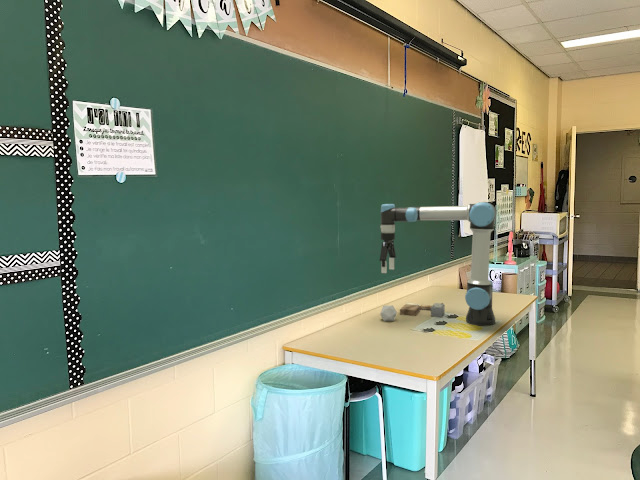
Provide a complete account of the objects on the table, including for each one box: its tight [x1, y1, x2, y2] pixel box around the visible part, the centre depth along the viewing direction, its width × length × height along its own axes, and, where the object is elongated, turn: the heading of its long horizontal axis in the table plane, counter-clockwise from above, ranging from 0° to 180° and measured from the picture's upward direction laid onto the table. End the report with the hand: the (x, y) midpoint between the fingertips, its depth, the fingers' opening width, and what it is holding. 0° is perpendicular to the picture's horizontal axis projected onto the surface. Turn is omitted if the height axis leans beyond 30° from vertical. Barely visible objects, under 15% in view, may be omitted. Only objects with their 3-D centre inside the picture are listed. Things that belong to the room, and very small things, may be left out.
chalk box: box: [405, 302, 420, 306], centre depth 302 cm, size 8×4×3 cm, turn 66°
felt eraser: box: [419, 304, 433, 312], centre depth 299 cm, size 12×4×3 cm, turn 66°
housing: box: [430, 302, 446, 318], centre depth 286 cm, size 6×10×6 cm, turn 157°
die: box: [380, 304, 398, 322], centre depth 276 cm, size 8×9×10 cm
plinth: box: [399, 304, 421, 317], centre depth 293 cm, size 9×13×3 cm
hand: (388, 271), depth 274 cm, fingers open, 13 cm apart
